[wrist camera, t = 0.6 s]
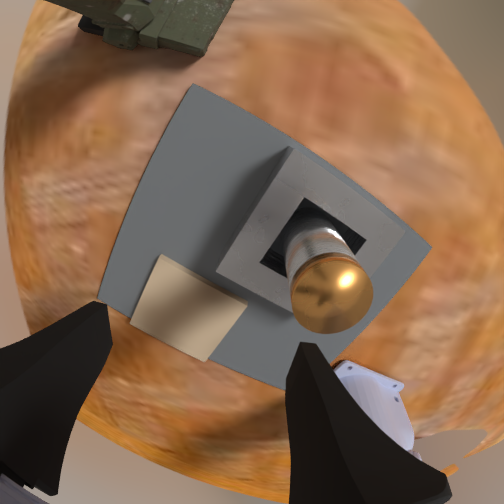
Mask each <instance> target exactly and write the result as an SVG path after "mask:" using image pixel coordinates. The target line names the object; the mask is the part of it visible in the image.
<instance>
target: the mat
mask: <svg viewBox="0 0 504 504" xmlns="http://www.w3.org/2000/svg"><path fill="white" fill-rule="evenodd" d="M288 146H290V147H292V148H294V149H296V150H297V151H299V152H300V153H302V154H303V155H305V156H306V157H308V158H309V159H311V160H312V161H314V162H315V163H317V164H318V165H320V166H321V167H323V168H324V169H326V170H327V171H328V172H330V173H331V174H333V175H334V176H335V177H337V178H338V179H340V180H341V181H342V182H344V183H345V184H347V185H348V186H349V187H351V188H352V189H353V190H355V191H356V192H357V193H359V194H360V195H361V196H363V197H364V198H365V199H366V200H368V201H369V202H370V203H372V204H373V205H374V206H375V207H377V208H378V209H379V210H380V211H382V212H383V213H384V214H385V215H387V216H388V217H389V218H390V219H391V220H393V221H394V222H395V223H396V224H397V225H399V226H400V227H401V228H402V229H403V230H405V231H406V232H405V233H404V234H403V236H402V237H401V239H400V240H399V241H398V243H397V244H396V245H395V247H394V248H393V249H392V251H391V252H390V253H389V254H388V256H387V257H386V258H385V260H384V261H383V262H382V263H381V265H380V266H379V267H378V269H377V270H376V271H375V272H374V274H373V275H372V276H371V277H370V280H371V282H372V286H373V300H372V304H371V306H370V308H369V310H368V312H367V313H366V315H365V316H364V317H363V318H362V319H361V320H360V321H359V322H358V323H357V324H355V325H354V326H352V327H351V328H349V329H347V330H344V331H342V332H338V333H333V334H319V333H315V332H312V331H309V330H307V329H306V328H304V327H303V326H301V325H300V324H299V323H298V321H297V320H296V318H295V316H294V314H293V313H292V312H290V311H288V310H286V309H285V308H283V307H281V306H279V305H277V304H275V303H273V302H271V301H269V300H267V299H265V298H264V297H262V296H260V295H258V294H256V293H254V292H252V291H250V290H249V289H247V288H245V287H243V286H241V285H239V284H237V283H236V282H234V281H232V280H230V279H228V278H226V277H225V276H223V275H221V274H219V273H217V272H215V271H216V268H217V265H218V262H219V259H220V255H221V252H222V250H223V248H224V247H225V245H226V243H227V242H228V240H229V239H230V237H231V235H232V234H233V232H234V230H235V229H236V227H237V226H238V224H239V222H240V221H241V219H242V218H243V216H244V215H245V213H246V211H247V210H248V208H249V207H250V205H251V203H252V202H253V200H254V199H255V197H256V196H257V194H258V192H259V191H260V189H261V188H262V186H263V185H264V183H265V182H266V180H267V178H268V177H269V175H270V174H271V172H272V171H273V169H274V168H275V166H276V165H277V163H278V162H279V160H280V158H281V157H282V155H283V154H284V152H285V151H286V149H287V148H288ZM303 207H311V208H316V209H318V210H320V211H322V212H323V213H324V214H325V215H326V216H327V217H328V219H329V220H330V221H331V223H332V224H333V225H334V227H335V228H336V230H337V231H338V232H339V234H340V235H341V237H342V236H343V235H344V234H345V232H346V231H347V229H348V228H349V227H348V226H347V225H345V224H344V223H342V222H341V221H340V220H338V219H337V218H335V217H334V216H332V215H331V214H329V213H328V212H326V211H325V210H323V209H322V208H320V207H319V206H318V205H316V204H315V203H313V202H311V201H310V200H308V199H307V198H305V197H304V198H303V200H302V201H301V203H300V204H299V206H298V207H297V209H299V208H303ZM431 248H432V247H431V246H430V245H429V244H428V243H427V242H426V241H425V240H424V239H423V238H422V237H421V236H419V235H418V234H417V233H416V232H415V231H414V230H413V229H412V228H411V227H409V226H408V225H407V224H406V223H405V222H404V221H403V220H401V219H400V218H399V217H398V216H397V215H396V214H394V213H393V212H392V211H391V210H390V209H388V208H387V207H386V206H385V205H383V204H382V203H381V202H380V201H379V200H377V199H376V198H375V197H374V196H372V195H371V194H370V193H368V192H367V191H366V190H365V189H363V188H362V187H361V186H359V185H358V184H357V183H355V182H354V181H353V180H351V179H350V178H349V177H347V176H346V175H345V174H343V173H342V172H341V171H339V170H338V169H336V168H335V167H334V166H332V165H331V164H329V163H328V162H327V161H325V160H324V159H322V158H321V157H319V156H318V155H316V154H315V153H314V152H312V151H311V150H309V149H308V148H306V147H305V146H303V145H302V144H300V143H298V142H297V141H295V140H294V139H292V138H291V137H289V136H287V135H286V134H284V133H283V132H281V131H279V130H278V129H276V128H275V127H273V126H271V125H270V124H268V123H266V122H265V121H263V120H261V119H259V118H258V117H256V116H254V115H253V114H251V113H249V112H247V111H246V110H244V109H242V108H240V107H238V106H236V105H235V104H233V103H231V102H229V101H227V100H225V99H223V98H222V97H220V96H218V95H216V94H214V93H212V92H210V91H208V90H206V89H204V88H202V87H200V86H198V85H196V84H194V83H193V84H192V86H191V87H190V89H189V90H188V92H187V94H186V95H185V97H184V99H183V100H182V102H181V104H180V106H179V107H178V109H177V111H176V113H175V114H174V116H173V118H172V120H171V121H170V123H169V125H168V127H167V129H166V131H165V133H164V134H163V136H162V138H161V140H160V142H159V144H158V146H157V148H156V150H155V152H154V154H153V156H152V158H151V160H150V162H149V164H148V166H147V168H146V171H145V173H144V175H143V177H142V179H141V181H140V184H139V186H138V188H137V190H136V193H135V195H134V197H133V200H132V202H131V204H130V207H129V209H128V212H127V214H126V216H125V219H124V221H123V224H122V227H121V229H120V232H119V234H118V237H117V240H116V243H115V245H114V248H113V251H112V254H111V257H110V259H109V262H108V265H107V268H106V271H105V275H104V278H103V281H102V284H101V287H100V291H99V294H98V297H97V298H98V299H99V300H101V301H102V302H104V303H106V304H107V305H109V306H111V307H112V308H114V309H116V310H117V311H119V312H121V313H122V314H124V315H126V316H127V317H129V318H131V319H132V316H133V314H134V312H135V309H136V307H137V305H138V302H139V300H140V298H141V295H142V293H143V291H144V289H145V286H146V284H147V282H148V280H149V278H150V275H151V273H152V271H153V269H154V267H155V265H156V263H157V260H158V258H159V257H160V255H161V254H163V255H164V256H166V257H168V258H170V259H171V260H173V261H175V262H177V263H178V264H180V265H182V266H184V267H186V268H187V269H189V270H191V271H193V272H194V273H196V274H198V275H200V276H202V277H204V278H205V279H207V280H209V281H211V282H213V283H215V284H216V285H218V286H220V287H222V288H224V289H226V290H228V291H229V292H231V293H233V294H235V295H237V296H239V297H241V298H243V299H245V300H246V301H248V306H247V307H246V309H245V310H244V311H243V313H242V314H241V315H240V317H239V318H238V319H237V321H236V322H235V323H234V325H233V326H232V327H231V329H230V330H229V331H228V333H227V334H226V335H225V336H224V338H223V339H222V340H221V342H220V343H219V344H218V346H217V347H216V348H215V350H214V351H213V352H212V353H211V355H210V356H209V357H208V359H210V360H212V361H215V362H217V363H219V364H221V365H223V366H226V367H228V368H230V369H233V370H235V371H237V372H240V373H242V374H244V375H247V376H249V377H252V378H254V379H257V380H259V381H262V382H264V383H267V384H269V385H272V386H275V387H277V388H280V389H283V390H286V377H287V374H288V372H289V369H290V367H291V364H292V361H293V359H294V356H295V353H296V351H297V348H298V345H299V343H300V342H308V343H316V344H317V346H318V347H319V349H320V350H321V352H322V353H323V355H324V357H325V358H326V360H327V361H328V363H329V364H330V363H331V362H332V361H333V360H334V359H335V358H336V357H337V356H338V355H339V354H340V353H341V352H342V351H343V350H344V349H345V348H346V347H347V346H348V345H349V344H350V343H351V342H352V341H353V340H354V339H355V338H356V337H357V336H358V335H359V334H360V333H361V332H362V331H363V330H364V329H365V328H366V327H367V326H368V325H369V324H370V322H371V321H372V320H373V319H374V318H375V317H376V316H377V315H378V314H379V313H380V311H381V310H382V309H383V308H384V307H385V306H386V305H387V304H388V302H389V301H390V300H391V299H392V298H393V297H394V295H395V294H396V293H397V292H398V291H399V289H400V288H401V287H402V286H403V285H404V283H405V282H406V281H407V280H408V278H409V277H410V276H411V275H412V273H413V272H414V271H415V270H416V268H417V267H418V266H419V265H420V263H421V262H422V261H423V259H424V258H425V257H426V255H427V254H428V253H429V251H430V250H431ZM270 249H272V250H273V251H275V252H277V253H278V254H280V255H282V256H284V254H283V248H282V242H281V235H280V233H279V235H278V236H277V238H276V239H275V241H274V242H273V243H272V245H271V246H270Z"/></svg>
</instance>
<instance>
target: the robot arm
mask: <svg viewBox="0 0 504 504" xmlns="http://www.w3.org/2000/svg"><path fill="white" fill-rule="evenodd" d="M112 345H113V342H112V336H111V330H110V323H109V316H108V308H107V304H103V303H100V302H96V301H92V302H90V303H88V304H87V305H85V306H83V307H81V308H80V309H78V310H76V311H74V312H73V313H71V314H69V315H68V316H66V317H64V318H62V319H61V320H59V321H57V322H55V323H54V324H52V325H50V326H48V327H46V328H45V329H43V330H41V331H39V332H37V333H35V334H33V335H31V336H29V337H27V338H25V339H23V340H21V341H19V342H16V343H14V344H11V345H9V346H6V347H3V348H0V504H49V503H47V502H45V501H43V500H42V499H40V498H38V497H37V496H35V495H33V494H32V493H30V492H28V491H27V490H25V489H24V488H23V486H24V484H25V485H26V486H28V487H29V488H31V489H33V488H34V487H35V488H37V489H39V490H40V491H42V492H44V493H46V494H47V495H49V496H54V495H57V494H58V487H59V481H60V474H61V468H62V464H63V459H64V455H65V451H66V447H67V444H68V441H69V438H70V434H71V431H72V428H73V426H74V423H75V420H76V417H77V415H78V413H79V411H80V408H81V406H82V405H83V403H84V401H85V399H86V397H87V395H88V394H89V392H90V390H91V388H92V386H93V385H94V383H95V381H96V379H97V377H98V376H99V374H100V372H101V370H102V369H103V367H104V365H105V362H106V360H107V358H108V355H109V353H110V350H111V348H112ZM403 388H404V384H403V383H402V382H399V381H397V380H394V379H392V378H389V377H387V376H384V375H382V374H379V373H377V372H374V371H372V370H370V369H367V368H365V367H363V366H360V365H358V364H355V363H353V362H351V361H348V360H345V361H342V362H341V363H340V364H339V365H338V366H337V367H336V368H335V369H334V370H333V369H332V367H331V366H330V364H329V363H328V361H327V360H326V358H325V357H324V355H323V353H322V352H321V350H320V349H319V347H318V346H317V344H316V343H308V342H300V343H299V345H298V348H297V351H296V353H295V356H294V359H293V361H292V364H291V367H290V369H289V372H288V374H287V377H286V390H285V404H286V414H287V424H288V433H289V443H290V454H291V475H290V495H289V504H444V503H445V502H447V501H448V500H449V499H450V498H451V497H452V492H451V489H450V486H449V483H448V480H447V477H446V474H444V473H442V472H440V471H438V470H436V469H434V468H433V467H431V466H429V465H427V464H426V463H424V462H422V459H421V457H420V455H419V453H418V452H416V451H412V448H413V443H414V432H413V428H412V426H411V423H410V420H409V418H408V415H407V412H406V410H405V407H404V405H403V402H402V400H401V397H400V395H399V391H401V390H402V389H403Z"/></svg>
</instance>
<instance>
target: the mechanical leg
mask: <svg viewBox="0 0 504 504" xmlns="http://www.w3.org/2000/svg"><path fill="white" fill-rule="evenodd" d="M45 1H48V2H51V3H54V4H57V5H59V6H62V7H65V8H67V9H70V10H72V11H75V12H77V13H80V14H82V15H83V16H82V18H81V20H80V22H79V24H78V27H79V28H80V29H82V30H83V31H84V32H88V33H92V34H96V35H100V36H103V41H104V42H106V43H108V44H111V45H114V46H116V47H118V48H122V49H128V50H133V49H134V48H135V47H136V46H137V44H140V45H142V46H146V47H150V48H155V49H158V48H159V46H160V47H164V48H169V49H173V50H177V51H181V52H185V53H188V54H192V55H196V56H199V57H200V56H204V55H205V53H206V51H207V48H208V46H209V44H210V42H211V40H213V38H214V36H215V34H216V32H217V30H218V29H219V27H220V25H221V23H222V21H223V20H224V18H225V16H226V14H227V13H228V11H229V9H230V8H231V5H232V3H233V1H234V0H45Z"/></svg>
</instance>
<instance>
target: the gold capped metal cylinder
mask: <svg viewBox="0 0 504 504" xmlns="http://www.w3.org/2000/svg"><path fill="white" fill-rule="evenodd" d="M280 235H281V242H282V248H283V254H284V260H285V266H286V272H287V278H288V285H289V291H290V298H291V304H292V311H293V314H294V316H295V318H296V320H297V321H298V323H299V324H300V325H301V326H303V327H304V328H306V329H307V330H309V331H312V332H315V333H319V334H333V333H338V332H342V331H344V330H347V329H349V328H351V327H352V326H354V325H355V324H357V323H358V322H359V321H360V320H361V319H362V318H363V317H364V316H365V315H366V313H367V312H368V310H369V308H370V306H371V304H372V300H373V286H372V282H371V280H370V278H369V277H368V275H367V274H366V272H365V271H364V269H363V268H362V266H361V265H360V263H359V262H358V260H357V259H356V257H355V256H354V254H353V253H352V251H351V250H350V248H349V247H348V245H347V244H346V242H345V241H344V240H343V238H342V237H341V235H340V234H339V232H338V231H337V230H336V228H335V227H334V225H333V224H332V223H331V221H330V220H329V219H328V217H327V216H326V215H325V214H324V213H323V212H322V211H320V210H318V209H316V208H311V207H303V208H299V209H296V210H295V211H294V213H293V214H292V216H291V217H290V219H289V220H288V222H287V223H286V225H285V226H284V227H283V229H282V230H281V232H280Z"/></svg>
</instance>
